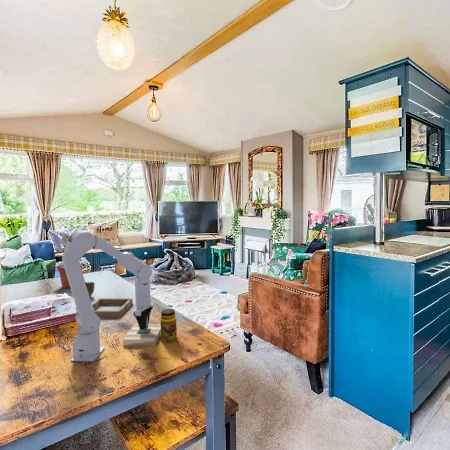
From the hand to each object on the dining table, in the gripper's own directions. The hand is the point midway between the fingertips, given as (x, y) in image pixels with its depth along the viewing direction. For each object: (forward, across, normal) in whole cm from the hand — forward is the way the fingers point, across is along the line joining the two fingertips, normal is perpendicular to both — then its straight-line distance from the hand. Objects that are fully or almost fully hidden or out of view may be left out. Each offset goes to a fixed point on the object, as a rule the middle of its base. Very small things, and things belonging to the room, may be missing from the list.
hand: (144, 326), depth 122 cm
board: (+4, 0, 0) cm, 4 cm away
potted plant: (+5, +72, +67) cm, 98 cm away
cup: (+5, +49, +46) cm, 67 cm away
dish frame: (+4, +29, +26) cm, 39 cm away
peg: (+2, 0, 0) cm, 3 cm away
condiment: (+5, -1, -10) cm, 11 cm away
